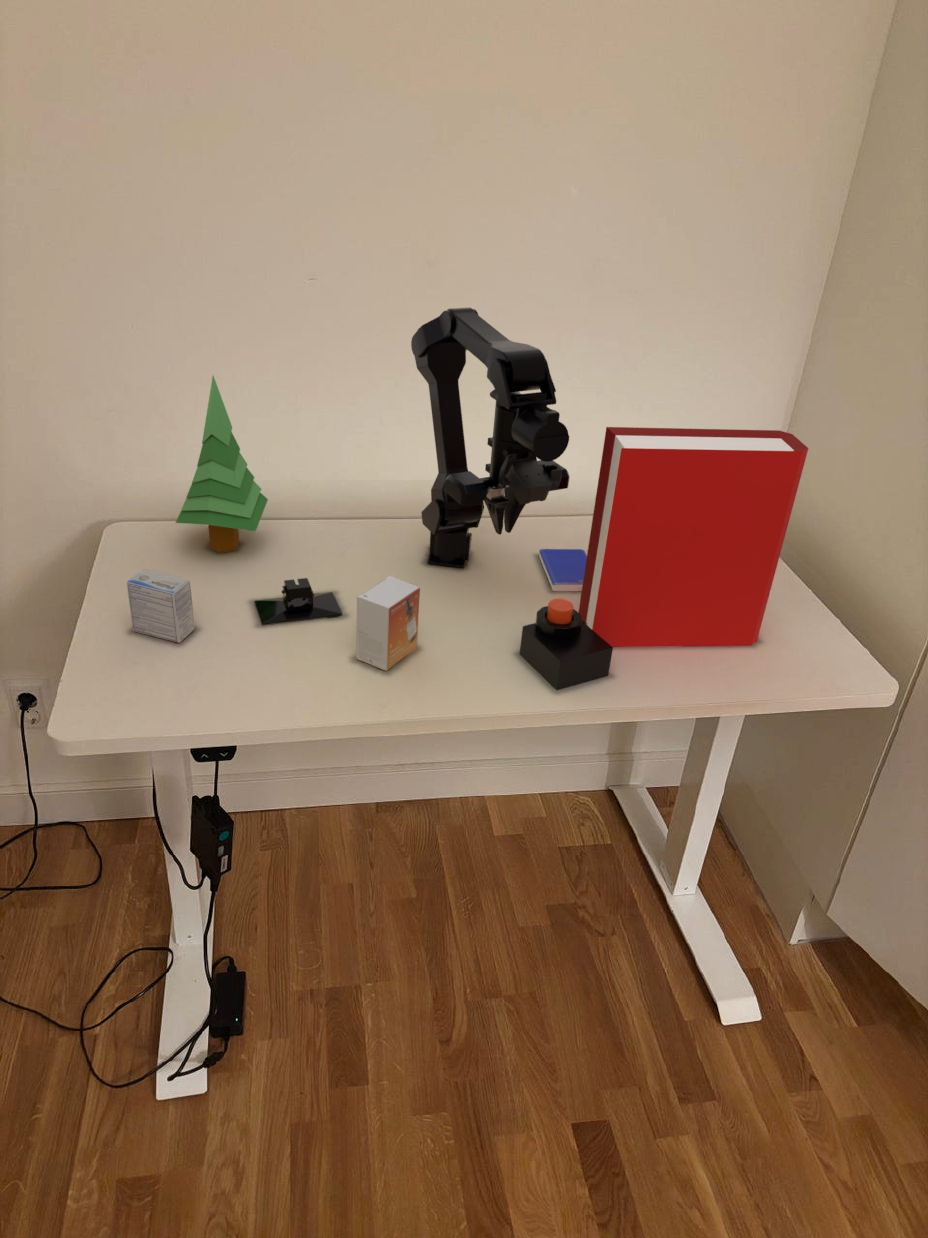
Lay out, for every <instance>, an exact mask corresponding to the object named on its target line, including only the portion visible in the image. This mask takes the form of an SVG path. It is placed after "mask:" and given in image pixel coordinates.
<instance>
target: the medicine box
mask: <svg viewBox="0 0 928 1238" xmlns="http://www.w3.org/2000/svg"><path fill="white" fill-rule="evenodd" d="M126 589H127V596H128V603H129V609H130V610H129V611H130V618H131V625H132V631H133V632H135V633H139V634H143V635H147V636H150V637H154V638H158V639H162V640H165V641H166V640H167V641H170V642H174V643H178V644H181V643H182V641H184V639H186V638H187V637H188V636H189V635H190V634H191V633H192V632H194V630H196V622H195V613H194V606H193V605H194V604H193V596H192V587H191V580H190V579H188V578H183V577H180V576H175V575H171V574H167V573H164V572H159V571H155V570H150V569H147V568H144V569H142V570H141V571H139V572H137V573H136V574H135V575H133V576H132V577H131V578H129V579H128V580H127V581H126Z"/></svg>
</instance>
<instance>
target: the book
mask: <svg viewBox="0 0 928 1238" xmlns="http://www.w3.org/2000/svg"><path fill="white" fill-rule="evenodd" d="M808 452H809V447H808V446H807V445H806V444H804V443H803V442H802V441H801V440H800V439H799V438H798V437H796V436H795V435H794V434H793V433H790V432H786V431H782V430H780V429H779V430H777V429H775V430H771V429H725V428H724V429H723V428H679V427H673V428H672V427H633V426H632V427H629V426H627V427H626V426H623V427H622V426H606V428H605V434H604V439H603V447H602V453H601V461H600V466H599V467H600V468H599V474H598V480H597V487H596V494H595V500H594V507H593V513H592V521H591V527H590V533H589V541H588V547H587V553H586V555H587V559H586V566H585V573H584V579H583V586H582V591H580V592H581V593H580V601H579V607H578V611H577V612H578V613H579V614H581V617H582V622H584V623H585V624H586V625H587V626H588V627H589V628H591V629H592V630H593V631H594V632H595V633H597V634H598V635H599V636H600V637H601V638H602V639H604V640H605V641H606V642H607V643H608V644H609V645H611V646H612V647H613V648H640V647H641V648H645V647H646V648H648V647H649V648H650V647H651V648H653V647H732V646H733V647H738V646H740V647H741V646H742V647H743V646H744V647H746V646H747V647H749V646H753V645H754V644H756V643H757V642H758V639H759V634H760V631H761V627H762V624H763V619H764V616H765V612H766V608H767V605H768V601H769V597H770V593H771V591H772V590H771V589H772V586H773V582H774V579H775V575H776V572H777V568H778V564H779V559H780V555H781V552H782V549H783V544H784V541H785V537H786V533H787V530H788V526H789V524H790V523H789V522H790V519H791V515H792V512H793V508H794V504H795V500H796V496H797V492H798V489H799V485H800V482H801V478H802V475H803V470H804V467H805V463H806V459H807V456H808Z"/></svg>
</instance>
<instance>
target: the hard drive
mask: <svg viewBox="0 0 928 1238" xmlns="http://www.w3.org/2000/svg"><path fill="white" fill-rule="evenodd" d="M538 557H539V560H540V562H541V564H542V568H543V570H544V572H545V575H546V577H547V580H548V582H549V584H550V587H551V589H552V591H554V592H582V586H583V579H584V573H585V566H586V559H587V553H586V551H585V549H582V548H581V549H579V548H575V549H574V548H572V549H571V548H541V549H539V550H538Z"/></svg>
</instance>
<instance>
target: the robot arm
mask: <svg viewBox="0 0 928 1238" xmlns="http://www.w3.org/2000/svg"><path fill="white" fill-rule="evenodd" d="M410 346H411V351H412V354H413V356H414V361H415V366H416V369H417V370H418V372H419V373H420V375H421V376H422V377H423V379H424V380H425V381H426V383H427V384H428V390H429V391H428V392H429V401H430V409H431V419H432V426H433V436H434V443H435V444H434V445H435V452H436V461H437V463H436V464H437V472H438V473H437V475H436V478H435V480H434V482H433V485H432V486H431V488H430V499H431V500H430V502H429V503H428V504H427V505H426V506H425V508H424V509H422V511H421V522H422V525H423V526H424V527H425V528H426V530H428V531H429V533H430V535H429V551H428V552H429V553H428V556H427V559H426V563H427V564H428V565H437V566H444V567H450V568H451V567H453V568H460V569H463V568H465V566H466V563H467V561H469V559H470V558H471V557H470V556H471V551H472V541H473V533H471V532H470V529H478V528H479V525H480V523H481V520H482V516H483V514H484V511H485V506H486V509H487V511H488V514H489V517H490V519H491V523H492V525H493V528H494V530H495V533H496V534H497V535H499V536H500V535H502V532H503V528H504V531H505V532H506V533H508V534H509V533H511V532H512V531H513V528H514V527H515V525H516V523H517V521H518V519H519V517H520V515H521V513H522V511H523V509H524V508H525V506H526V505H528V504H530V503H535V502H545V501H546V500H547V499H548V495H549V493H550V492H552V491H553V492H554V491H561V490H566V489H568V488H569V486H570V474H569V471H568V470H567V469H566V468H565V467H564V466H562V465H561V464H559V463H557V462H556V460H557V459H559V458H560V457H561V456H562V455H563V454H564V453H565V451H566V450H567V448H568V445H569V442H570V435H569V431H568V428H567V426H566V425H565V424H564V423H562V422H561V421H560V412H559V411H557V410H555V409H551V408H550V407H548V406H553V405H556V404H557V398H556V392H557V389H556V386H555V383H554V381H553V378H552V375H551V372H550V368H549V364H548V363H549V362H548V360H547V359H546V356H545V354H544V353H543V352H542V350H541V349H540V348H538V347H535V346H533V345H531V344H528V343H522V342H516V341H512V340H510V339H508V338H507V337H506V336H505V335H504V334H502V333H501V332H500V331H499V330H497V329H496V328H495V327H494V326H492V325H491V324H490V323H488V322H487V321H486V320H485V319H484V318H483V317H481V316H480V315H479V313H478V311H477V309H475V308H472V307H453V308H452V307H451V308H447V309H446V310H443V311H442V312H441V313H440V315H439V316H437V317H435V318H434V319H431V320H429V321H428V322H425V323H424V324H422V325H421V326H420V327H419V328H417V330H416V332H415V333H414V334H413V335H412V337H411V343H410ZM467 351H468V352H470V354H472V355H473V356H474V357H475V358H476V359H478V361H480V362H481V363H482V364H483V365H484V366H485V368H487V371H486V378H487V380H488V381H489V382H490V384H491V385H492V386H493V388H494V389H493V390H491V391H490V392H489V397H490V398H492V399H493V400H495V408H494V417H493V429H492V437H488V438H487V442H486V443H487V445H488V446H489V447H490V448H491V453H490V463H485V469H484V470H485V472H486V473H488V474H489V476H486V477H485V476H484V477H478V476H477V475H476V474H475V473H473V472H472V471H471V470H469V467H468V459H467V450H466V441H465V432H464V431H465V430H464V424H463V423H464V421H463V413H462V403H461V395H460V385H459V380H460V378H461V375H462V373H463V370H464V369H465V366H466V364H467ZM538 390H539V391H538ZM529 391H538V392H529ZM521 392H527V393H521ZM528 392H529V393H528Z"/></svg>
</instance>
